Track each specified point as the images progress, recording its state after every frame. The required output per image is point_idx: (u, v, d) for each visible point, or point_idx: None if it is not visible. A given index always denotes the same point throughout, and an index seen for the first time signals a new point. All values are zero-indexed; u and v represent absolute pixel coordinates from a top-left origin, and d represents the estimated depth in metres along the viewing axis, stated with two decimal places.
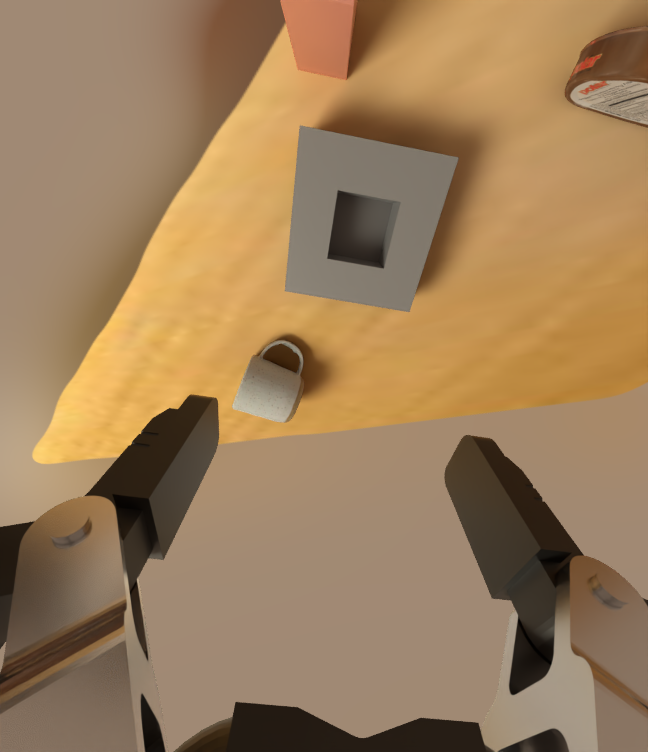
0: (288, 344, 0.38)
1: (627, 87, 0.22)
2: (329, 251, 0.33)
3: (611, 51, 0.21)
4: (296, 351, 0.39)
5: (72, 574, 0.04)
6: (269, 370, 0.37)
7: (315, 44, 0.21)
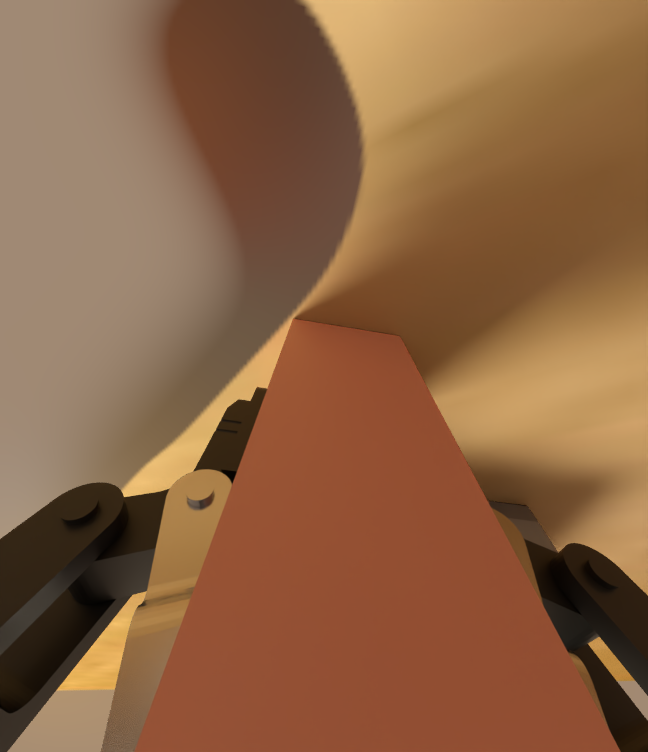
0: None
1: None
2: None
3: None
4: None
5: (215, 529, 0.05)
6: None
7: None
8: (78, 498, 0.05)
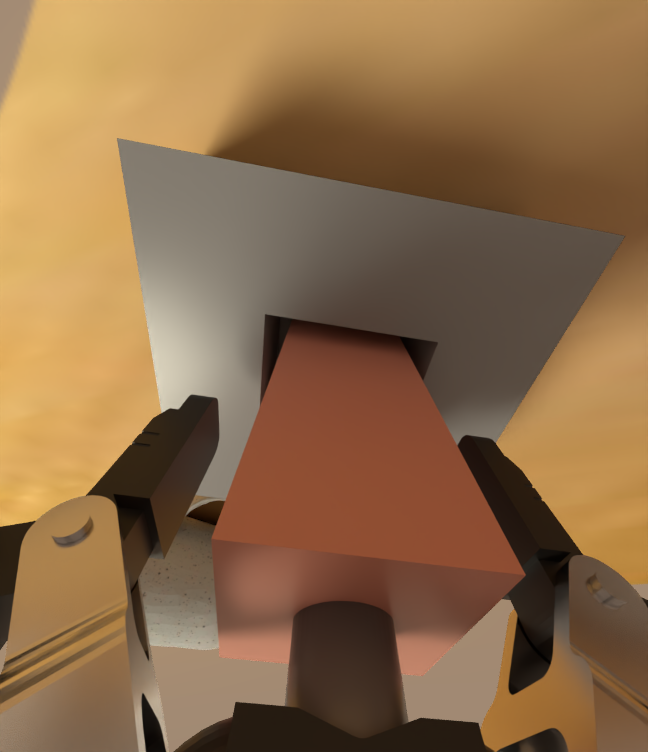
0: None
1: None
2: None
3: None
4: None
5: (73, 574, 0.04)
6: (183, 566, 0.19)
7: None
8: None
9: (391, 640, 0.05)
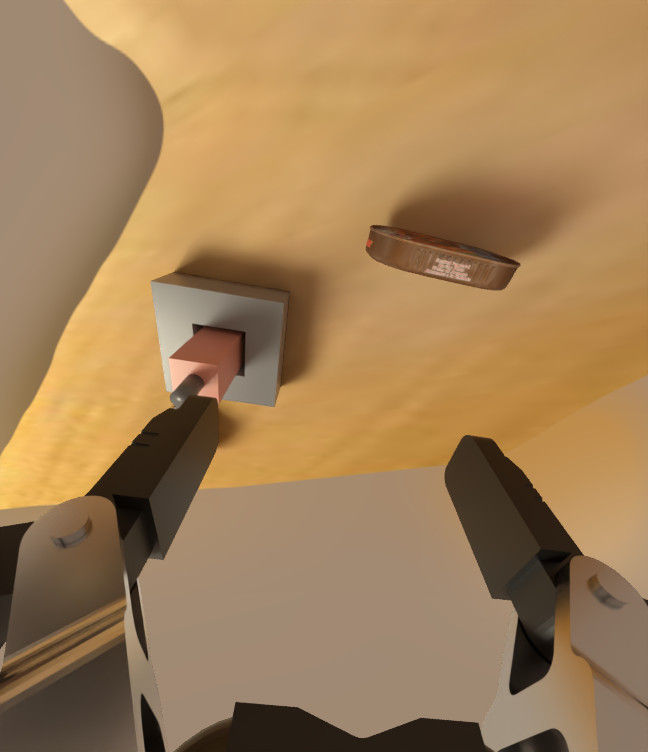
0: None
1: None
2: None
3: (376, 242, 0.26)
4: None
5: (72, 574, 0.04)
6: None
7: None
8: None
9: (199, 379, 0.27)
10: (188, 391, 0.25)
